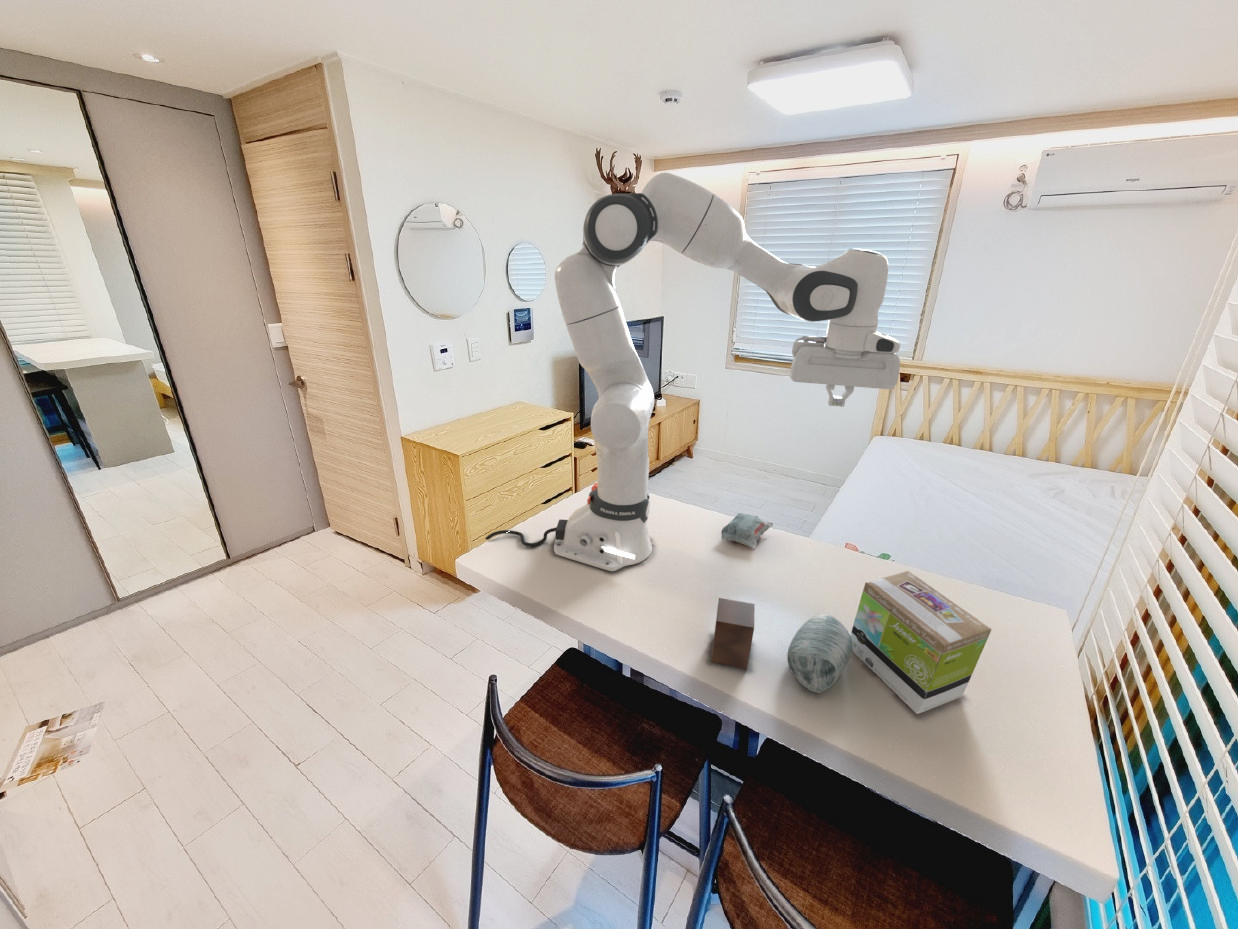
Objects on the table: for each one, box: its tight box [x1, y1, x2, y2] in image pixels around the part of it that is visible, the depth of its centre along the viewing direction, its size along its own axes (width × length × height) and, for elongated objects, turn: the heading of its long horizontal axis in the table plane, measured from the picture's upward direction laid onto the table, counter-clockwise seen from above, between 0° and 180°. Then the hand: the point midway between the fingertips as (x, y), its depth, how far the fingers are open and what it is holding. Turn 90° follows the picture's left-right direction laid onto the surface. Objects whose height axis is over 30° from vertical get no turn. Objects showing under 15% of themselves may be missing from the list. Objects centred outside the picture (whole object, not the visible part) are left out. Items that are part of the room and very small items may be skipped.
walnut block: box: [710, 597, 755, 670], centre depth 85 cm, size 6×6×9 cm
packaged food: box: [721, 512, 774, 550], centre depth 119 cm, size 9×12×5 cm
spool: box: [786, 613, 853, 693], centre depth 83 cm, size 14×10×10 cm
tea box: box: [850, 570, 992, 715], centre depth 81 cm, size 15×10×15 cm
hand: (835, 405), depth 105 cm, fingers closed
